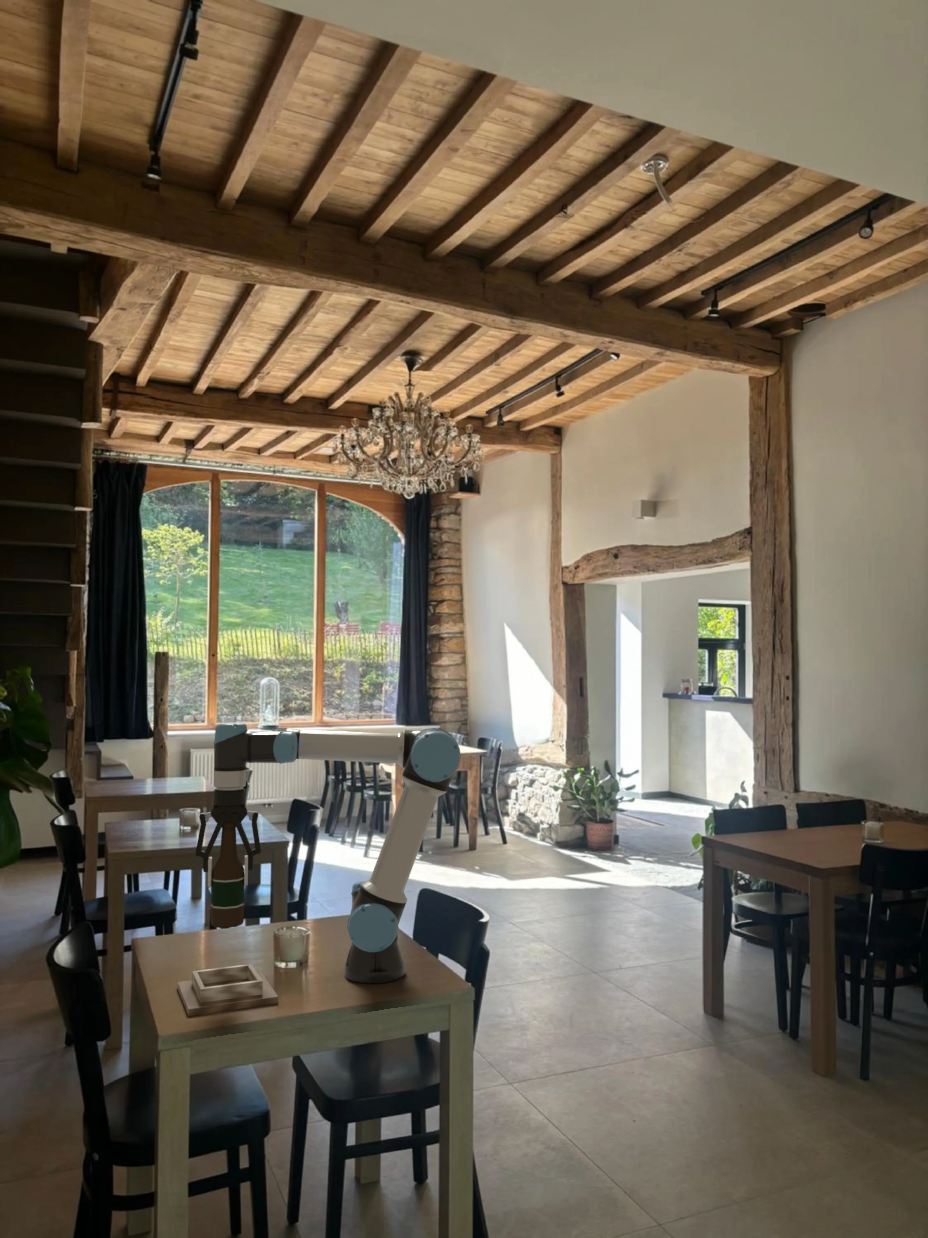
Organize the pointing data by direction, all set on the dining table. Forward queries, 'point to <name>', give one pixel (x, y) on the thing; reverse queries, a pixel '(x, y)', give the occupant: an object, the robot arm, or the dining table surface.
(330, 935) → the dining table surface
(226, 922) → the beer bottle
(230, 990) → the rim board
